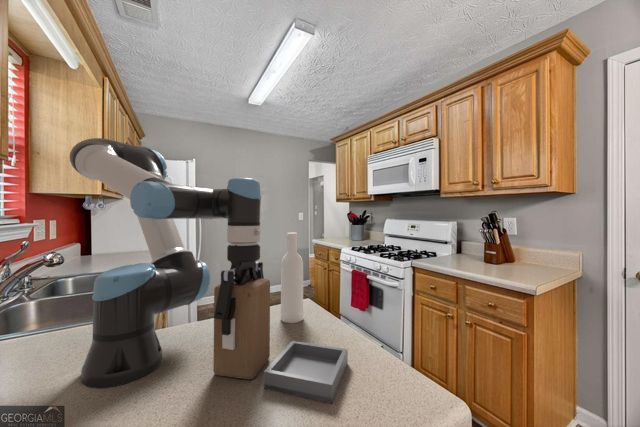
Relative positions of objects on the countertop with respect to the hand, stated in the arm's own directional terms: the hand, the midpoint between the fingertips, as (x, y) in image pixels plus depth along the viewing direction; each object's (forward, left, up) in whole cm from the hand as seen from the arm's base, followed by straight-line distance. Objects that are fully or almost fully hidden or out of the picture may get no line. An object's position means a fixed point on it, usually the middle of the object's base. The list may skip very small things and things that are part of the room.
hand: (243, 337), depth 63 cm
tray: (+16, +2, -7) cm, 17 cm away
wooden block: (0, 0, -7) cm, 7 cm away
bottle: (-1, +31, -7) cm, 32 cm away
